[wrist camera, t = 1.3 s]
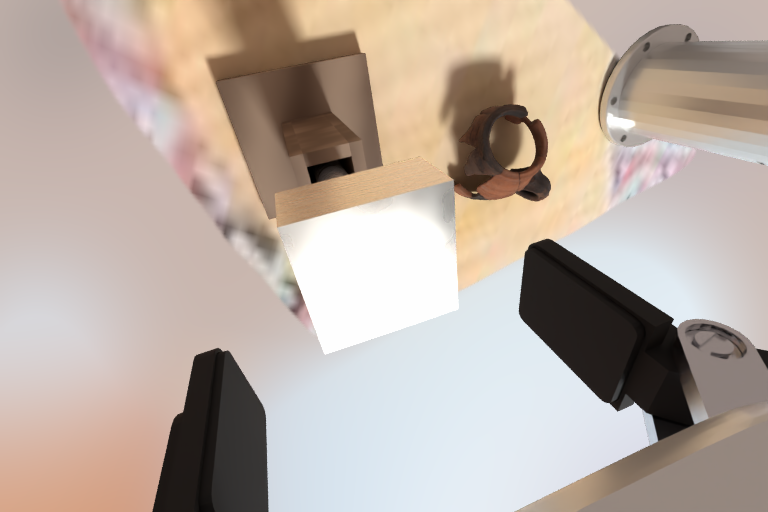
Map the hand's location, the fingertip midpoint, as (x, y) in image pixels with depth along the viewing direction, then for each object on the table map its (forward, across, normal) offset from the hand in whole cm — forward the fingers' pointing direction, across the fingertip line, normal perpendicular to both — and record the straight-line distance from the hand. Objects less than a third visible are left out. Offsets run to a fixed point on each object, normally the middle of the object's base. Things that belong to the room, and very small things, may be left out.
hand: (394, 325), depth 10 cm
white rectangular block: (+18, -1, 0) cm, 18 cm away
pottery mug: (+26, -20, +6) cm, 33 cm away
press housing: (+26, -1, 0) cm, 26 cm away
